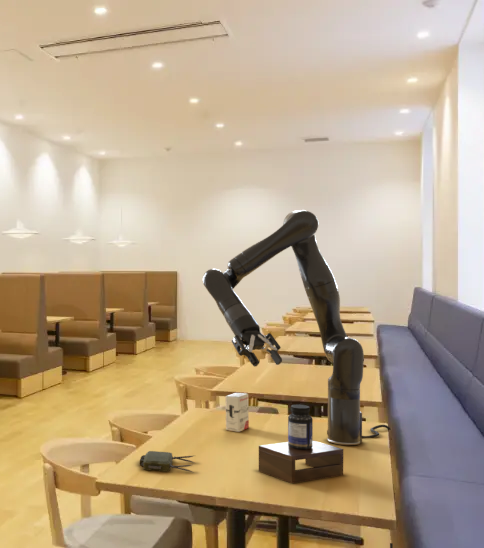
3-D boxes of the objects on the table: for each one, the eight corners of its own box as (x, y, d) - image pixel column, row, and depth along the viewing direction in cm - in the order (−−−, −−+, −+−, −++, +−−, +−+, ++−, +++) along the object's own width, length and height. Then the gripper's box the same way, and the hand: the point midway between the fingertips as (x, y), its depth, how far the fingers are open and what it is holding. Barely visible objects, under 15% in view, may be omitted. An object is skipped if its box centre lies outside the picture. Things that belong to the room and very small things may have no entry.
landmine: (143, 448, 211) (196, 451, 207) (143, 457, 211) (196, 461, 207) (137, 460, 198) (194, 465, 194) (137, 470, 198) (194, 474, 194)
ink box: (235, 425, 252) (235, 391, 252) (249, 427, 249) (249, 393, 249) (225, 430, 245) (225, 395, 245) (239, 432, 242) (239, 396, 242)
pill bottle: (300, 443, 199) (300, 403, 199) (317, 448, 194) (317, 407, 193) (282, 445, 197) (283, 405, 197) (300, 451, 191) (300, 409, 191)
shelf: (308, 463, 204) (308, 439, 204) (343, 475, 193) (343, 449, 193) (258, 471, 197) (258, 445, 197) (291, 483, 186) (291, 456, 186)
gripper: (228, 314, 217) (256, 357, 207) (265, 313, 223) (294, 354, 212) (216, 330, 222) (243, 373, 212) (253, 328, 228) (280, 370, 217)
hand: (268, 363), depth 212 cm, fingers open, 8 cm apart
